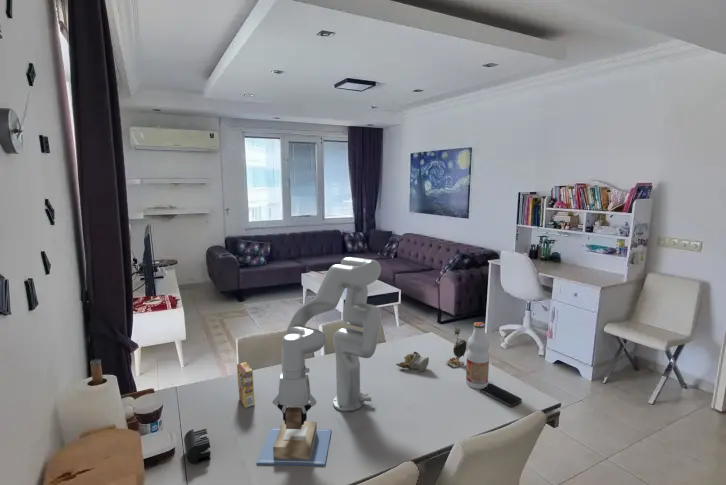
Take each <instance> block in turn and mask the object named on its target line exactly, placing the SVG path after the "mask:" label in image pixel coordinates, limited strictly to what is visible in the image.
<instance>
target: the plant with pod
mask: <svg viewBox="0 0 726 485" xmlns="http://www.w3.org/2000/svg"><path fill="white" fill-rule="evenodd" d="M460 333H461V328H460V327H458V326H456V327H455V329H454V337H455V336H457V338H456V342H455V344H454V345H453V348H452V349H453V350H452V351H453V355H454V356H455V357H451V358H449V359H448V360H447V361H446V362H445V363H446V364H448V365H449V366H451V367H452V368H458V367H461V366H463V364H464V361H461V360H460V358H461V357H465V354H466V351H467V342H468V339H467V340H465V339H462V338H461V339H459V335H460Z"/></svg>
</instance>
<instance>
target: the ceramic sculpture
mask: <svg viewBox="0 0 726 485" xmlns="http://www.w3.org/2000/svg"><path fill="white" fill-rule="evenodd" d="M429 362H430V360H429V356H421V355H420V353H419V352H416V351H414V352H409V353H408V354H406V356H404V361H402V362H399V363H395V364H396V365H397V366H398V367H399V368H402V369H413V370H419V371H420V372H424V371H426V370H427V367H428V365H429Z"/></svg>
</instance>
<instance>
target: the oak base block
mask: <svg viewBox="0 0 726 485" xmlns="http://www.w3.org/2000/svg"><path fill="white" fill-rule="evenodd" d="M279 428H280V430H279V433H278V436H277V438H276V441H275V443H274V446H273V457H274V459H311V454H312V450H313V446H314V442H315V438H316V433H317V429H318V427H317V421H307V420H306V421H305V422H304V425H302V428H301V429H286V424H285V421H284V420H282V423H281V426H280V427H279Z"/></svg>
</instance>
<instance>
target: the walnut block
mask: <svg viewBox="0 0 726 485" xmlns="http://www.w3.org/2000/svg"><path fill="white" fill-rule="evenodd" d="M301 414H302V409H301V406H289V405H288V406H287V410H286V429H301V428H302V421H301Z"/></svg>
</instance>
